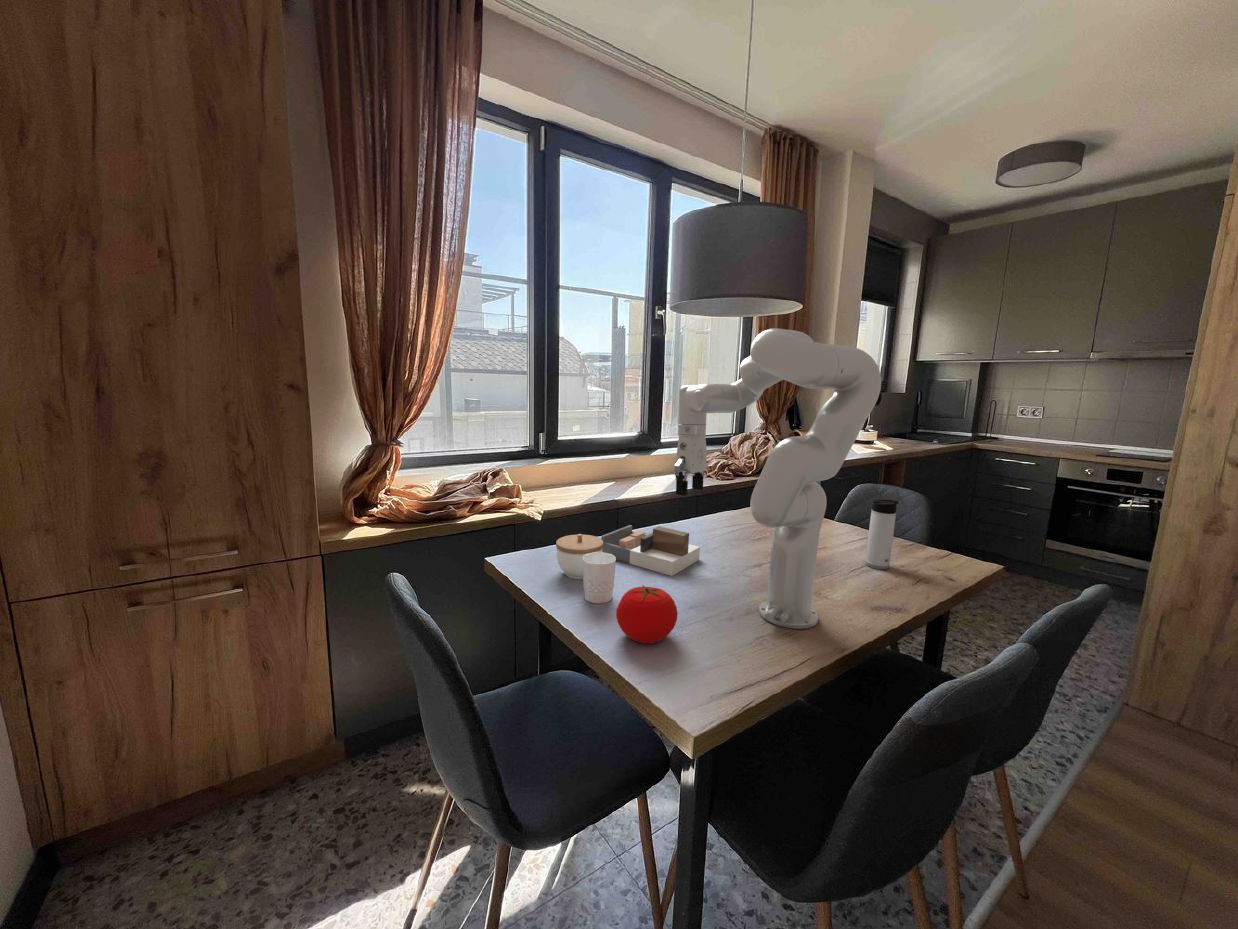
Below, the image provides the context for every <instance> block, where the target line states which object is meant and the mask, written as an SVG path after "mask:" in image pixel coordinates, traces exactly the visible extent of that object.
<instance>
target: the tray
mask: <svg viewBox="0 0 1238 929" xmlns="http://www.w3.org/2000/svg"><path fill="white" fill-rule="evenodd" d="M635 532H636V531H633V525H632V524H629V525H626V526H624V527H621V528H619V529H616V530H614V531H611V532H608V533H606V534H603V535H601V537H600V539H602V541H603V553H609V554H612V555H614V556H615V557H616V561H620V562H623V563H627V564H629V565H631V564H630V550H632V549H628V548H624V547H620V546H619V540H621V539H623V538H626V537H628V536H630V534H633V533H635ZM647 535H648V534H645V536H647Z"/></svg>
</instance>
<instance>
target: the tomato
mask: <svg viewBox="0 0 1238 929" xmlns="http://www.w3.org/2000/svg"><path fill="white" fill-rule="evenodd" d="M641 585H642V586H637V587H633V588H630V589H629V590H628V591H626V592H625V593H624V594H623V595H622V597H621V599H620V601H619V603H618V605H617V608H616V611H615V617H616V620H617V624H618V626H619V627H620V630H621V631H622V632H623V634H625V635H626V636H627V637H628V638H630V639H631V640H633V641H635V642H637V643H642V644H654V643H657V642H659V641H661V640H664V639H665V638H666V637H668V635H670V634H671V632H672V631H673V629H674V628H675V626H676V623H677V621H678V614H679V613H678V609H677V604H676V602H675V600H674V598H673V597H672V595H671V594H669V593H668V592H666V590H663V589H662V588H659V587H654V586H653V587H652V586H644V585H643V584H641Z"/></svg>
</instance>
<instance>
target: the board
mask: <svg viewBox="0 0 1238 929" xmlns="http://www.w3.org/2000/svg"><path fill="white" fill-rule="evenodd" d="M700 550H701V546H698V545H694V544H691V543H689V546H688V554H686V555H684V556H683V557H682V556H679V555H675V554H671V553H667V552H663V551H659V550H656V549H650V550H648V551H646V552H640V546H638V547H636V548H634V549H632V550H630V564H629V565H633V566H637V567H640V568H643V569H647V570H651V571H654V572H657V573H660V574H663V575H664V574H665V575H667V576H671V577H672V576H675V575H676V574H678V573H679V572H681V571H683V570H685V569H686V568H688V567H689V566H692V564H694V563H696V562H698V561H700V553H701V552H700Z"/></svg>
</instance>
